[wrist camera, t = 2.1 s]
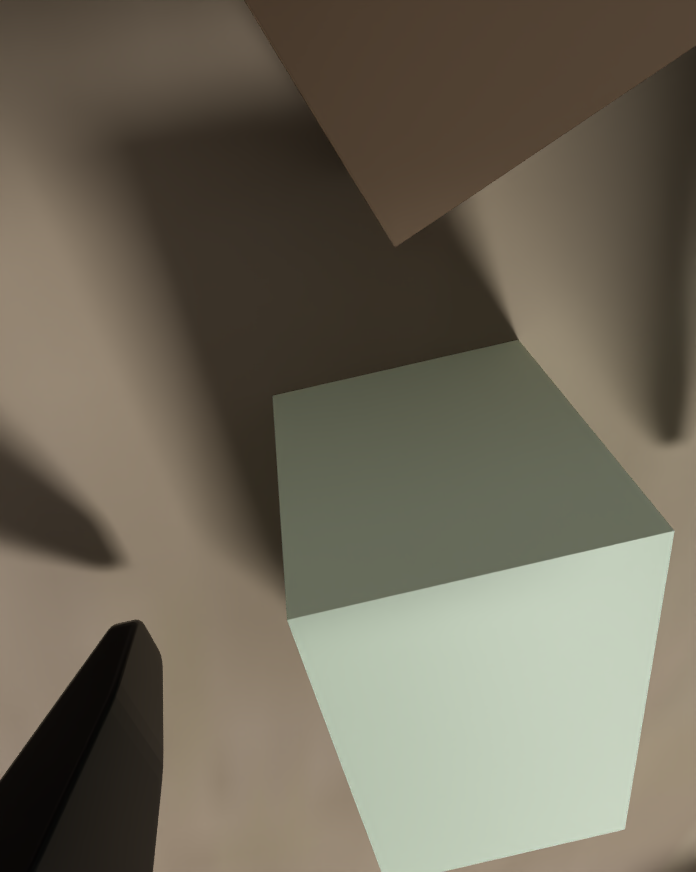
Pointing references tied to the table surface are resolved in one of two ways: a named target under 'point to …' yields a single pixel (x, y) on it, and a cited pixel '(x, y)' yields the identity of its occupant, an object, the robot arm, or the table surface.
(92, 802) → the robot arm
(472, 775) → the sage brick
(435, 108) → the walnut brick
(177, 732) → the table surface
